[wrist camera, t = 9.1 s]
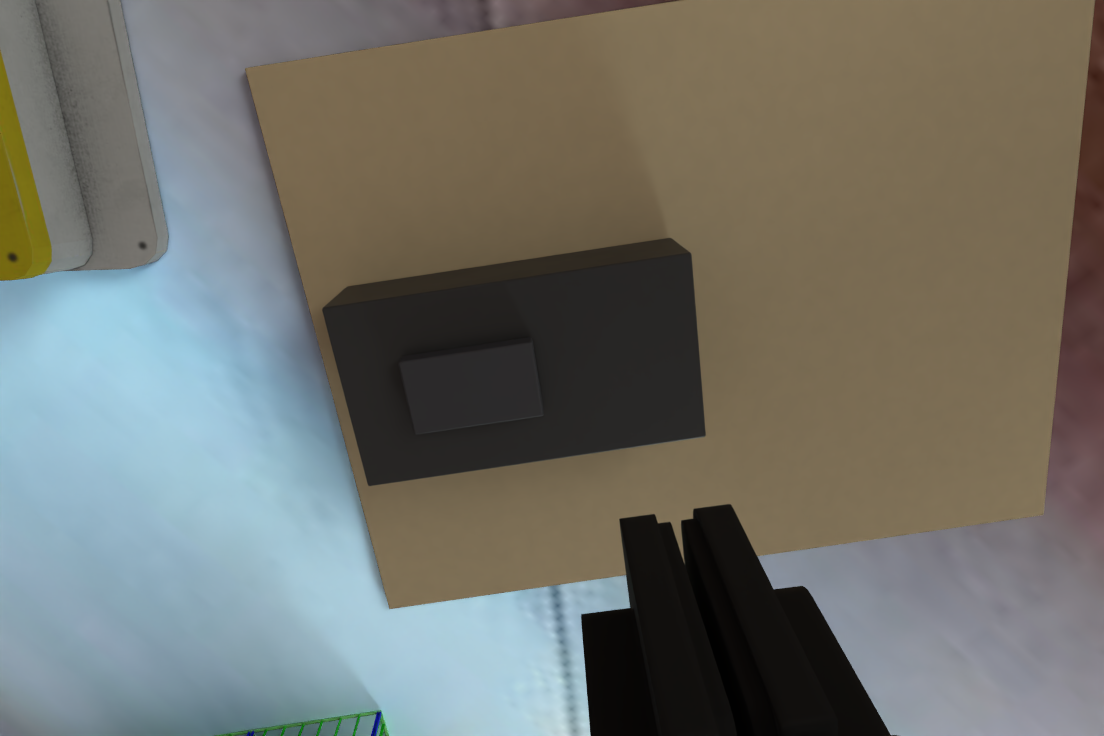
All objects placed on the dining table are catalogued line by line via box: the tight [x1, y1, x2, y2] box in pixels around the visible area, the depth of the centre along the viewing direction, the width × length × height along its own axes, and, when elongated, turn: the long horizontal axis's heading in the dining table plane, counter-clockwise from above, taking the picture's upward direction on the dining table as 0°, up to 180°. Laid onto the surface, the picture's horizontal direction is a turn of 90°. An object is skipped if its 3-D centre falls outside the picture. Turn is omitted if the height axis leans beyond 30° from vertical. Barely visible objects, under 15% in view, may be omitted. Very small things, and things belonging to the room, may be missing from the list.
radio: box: [322, 238, 706, 486], centre depth 23 cm, size 6×4×11 cm
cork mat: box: [245, 0, 1095, 609], centre depth 24 cm, size 20×26×1 cm
